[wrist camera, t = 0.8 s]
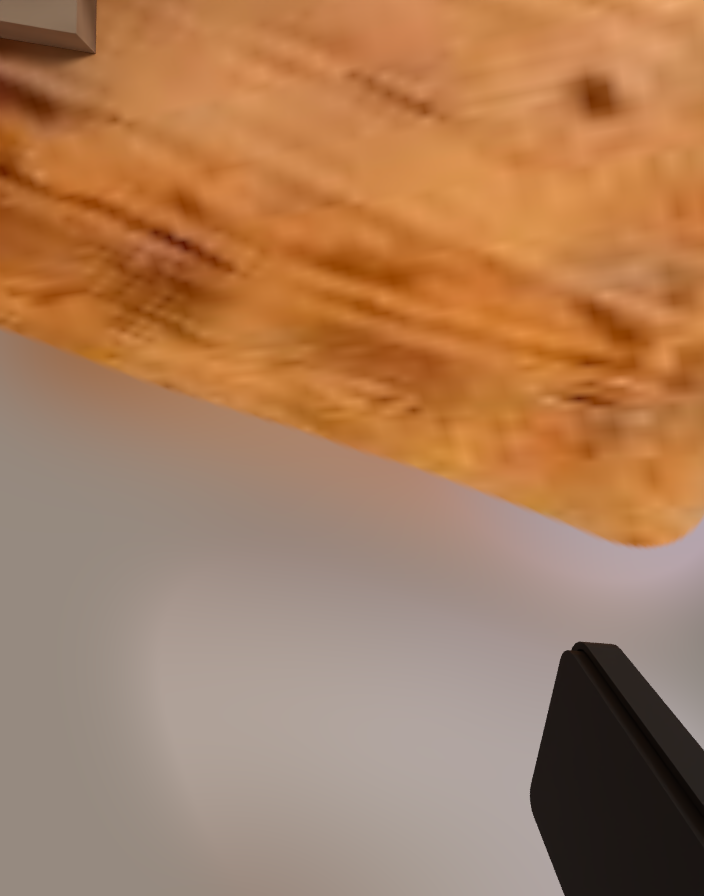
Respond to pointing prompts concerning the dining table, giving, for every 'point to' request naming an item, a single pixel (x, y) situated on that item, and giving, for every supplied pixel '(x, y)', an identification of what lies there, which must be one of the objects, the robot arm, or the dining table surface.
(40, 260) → the dining table surface
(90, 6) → the plank
